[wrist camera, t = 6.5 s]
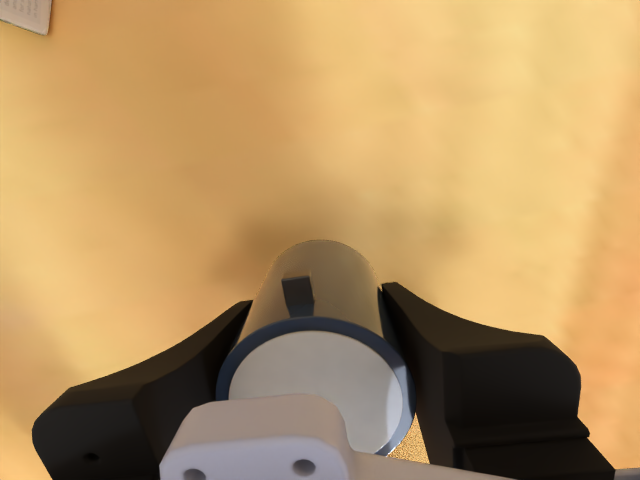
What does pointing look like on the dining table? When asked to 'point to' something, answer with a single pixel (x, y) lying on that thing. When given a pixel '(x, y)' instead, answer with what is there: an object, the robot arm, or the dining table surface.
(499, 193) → the dining table surface
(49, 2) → the syrup box
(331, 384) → the mug
